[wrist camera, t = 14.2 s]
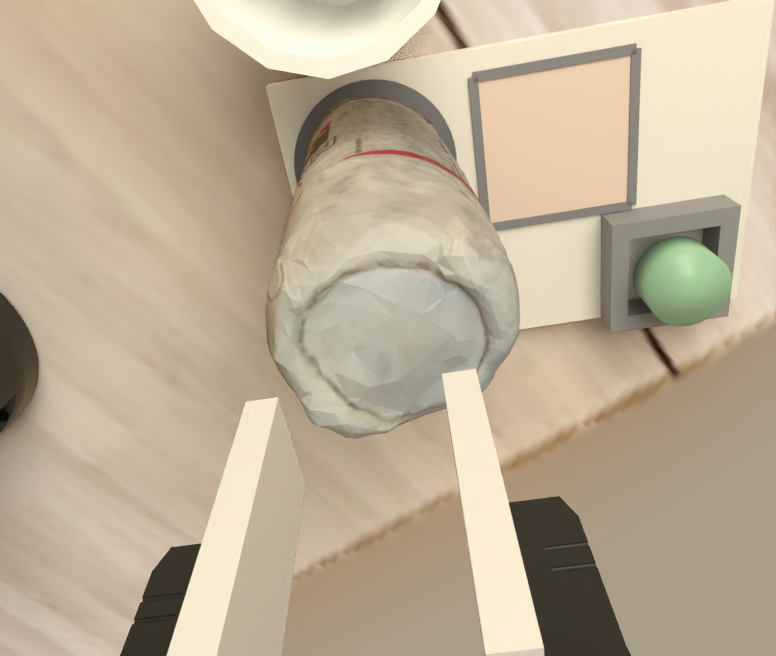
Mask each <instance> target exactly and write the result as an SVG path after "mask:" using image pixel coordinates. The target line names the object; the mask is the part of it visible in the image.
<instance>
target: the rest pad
mask: <svg viewBox="0 0 776 656" xmlns="http://www.w3.org/2000/svg"><path fill="white" fill-rule="evenodd" d="M376 96H377V97H389V98H394V99H396V100H398V102H402V103H404V104H407V105H408V106H411V107H412V108H414V109H416V110H417V111H419V113H421V114H423V116H424V117H425V118H426V119H429V121H431V122H432V124H433V126H434V128H435V129H436V130H437V131H438V132H439V134H440V136H441V139H442V141H443V142H444V144H445V145H446V146H447V147H448V149H449V152H450V153H451V154H452V156H453V157H454V159H455V160H456V161H457V157H456V149H455V143H454V140H453V137H452V133H451V131H450V129H449V127H448V125H447V123H446V121H445V119H444V117H443V116H442V114H441V113H440V111H439V110H438V109H437V108H436V107H435V106H434V104H433V103H432V102H430V101H429V100H428V99H427V98H426V97H425V96H423V95H422V94H420V93H419V92H417V91H416V90H414V89H412V88H410V87H408V86H406V85H403V84H400V83H397V82H394V81H388V80H378V79H370V80H361V81H357V82H353V83H349V84H347V85H344V86H342V87H339V88H338V89H336V90H334V91H333V92H331V93H329V94H328V95H327V96H325V97H324V98H323V99H322V100H321V101H320V102H319V103H318V104H317V105H316V106H315V107H314V108H313V109H312V111H311V112H310V113H309V115H308V116H307V118H306V120H305V121H304V123H303V125H302V127H301V129H300V132H299V135H298V138H297V142H296V146H295V153H294V171H295V176H296V181H297V184H298V177H299V175H301V173H302V168H303V165H304V162H305V159H306V156H307V154H308V147H309V142H310V138H311V136H312V134H313V132H314V131H315V129H316V127H317V126H318V124H319V122H320V121H321V119H322V117H323V116H324V114H325V112H326V111H328V110H330V109H332V108H333V107H334V106H335V105H337V104H338V103H340V102H341V101H343V100H345V99H347V98H364V97H371V98H372V97H376Z"/></svg>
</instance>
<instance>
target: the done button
mask: <svg viewBox="0 0 776 656" xmlns="http://www.w3.org/2000/svg"><path fill="white" fill-rule="evenodd" d="M633 284H634V288H635V290H636V292H637V293H638V295H639V296H640V297H641V298H642V299H643V301H644V302H645V303H646V304H647V306H648V307H649V308H650V309H651V311H652V312H653V313H654V314H655V316H656V317H657V318H658V319H660V320H661V321H663V322H664V323H667V324H669V325H674V326H689V325H693V324H697V323H699V322H702V321H704V320H706V319H708V318H709V317H711V316H712V315H713V314H715V313H716V312H717V311H718V310H719V309H720V308H721V307H722V306H723V304H724V303H725V301H726V300H727V298H728V296H729V294H730V291H731V286H732V276H731V272H730V270H729V268H728V266H727V265H726V264H725V263H724V262H723V261H722V260H721V259H720V258H718V257H717V256H716V255H715V254H714V253H713V252H711V251H710V250H709V249H708V248H707V247H705V246H704V245H703V244H702V243H701V242H699V241H698V240H696V239H694V238H691V237H687V236H673V237H668V238H665V239H662V240H660V241H658V242H656V243H655V244H653V245H652V246H650V247H649V248H648V249H647V250H646V251H645V252H644V253H643V254H642V255H641V256H640V258H639V259H638V261H637V263H636V265H635V268H634V272H633Z"/></svg>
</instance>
